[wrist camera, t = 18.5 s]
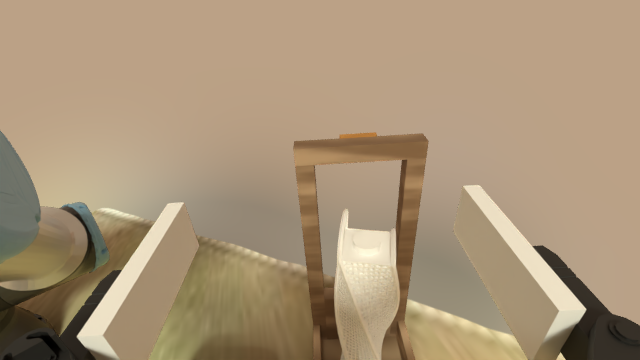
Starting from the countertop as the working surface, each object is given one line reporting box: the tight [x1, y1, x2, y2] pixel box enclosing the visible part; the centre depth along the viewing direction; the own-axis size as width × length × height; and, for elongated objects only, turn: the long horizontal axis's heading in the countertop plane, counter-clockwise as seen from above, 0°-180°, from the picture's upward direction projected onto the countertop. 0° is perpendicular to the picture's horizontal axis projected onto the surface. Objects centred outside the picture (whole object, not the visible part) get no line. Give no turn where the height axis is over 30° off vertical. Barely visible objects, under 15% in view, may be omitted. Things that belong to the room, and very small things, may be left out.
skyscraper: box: [334, 208, 400, 360], centre depth 37 cm, size 8×8×28 cm
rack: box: [293, 133, 428, 360], centre depth 37 cm, size 15×14×36 cm
